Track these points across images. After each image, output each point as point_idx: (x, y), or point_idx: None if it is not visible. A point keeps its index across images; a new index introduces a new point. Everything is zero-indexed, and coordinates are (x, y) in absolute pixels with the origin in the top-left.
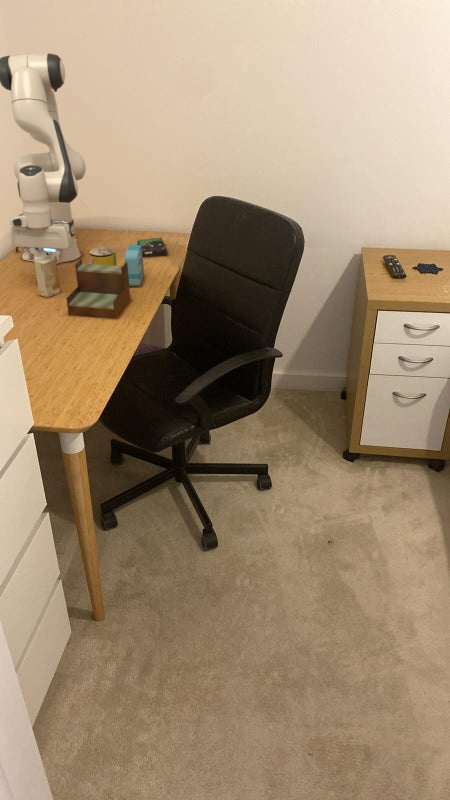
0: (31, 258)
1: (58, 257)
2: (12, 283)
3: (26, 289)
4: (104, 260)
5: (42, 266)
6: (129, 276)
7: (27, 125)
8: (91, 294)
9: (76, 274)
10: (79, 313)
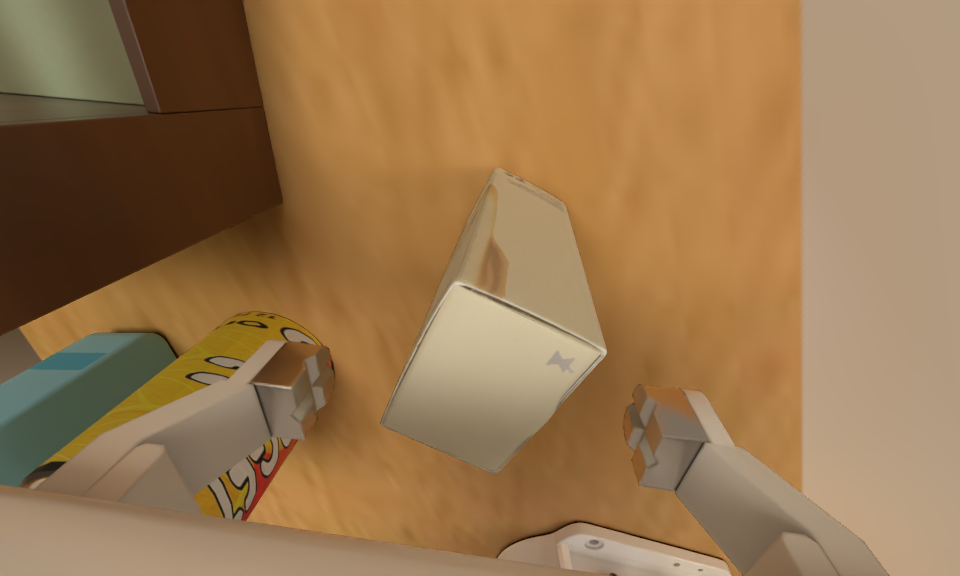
0: (658, 398)
1: (233, 374)
2: (763, 358)
3: (666, 285)
4: (80, 437)
5: (480, 266)
6: (82, 361)
7: None
8: (69, 57)
9: (25, 121)
10: None
